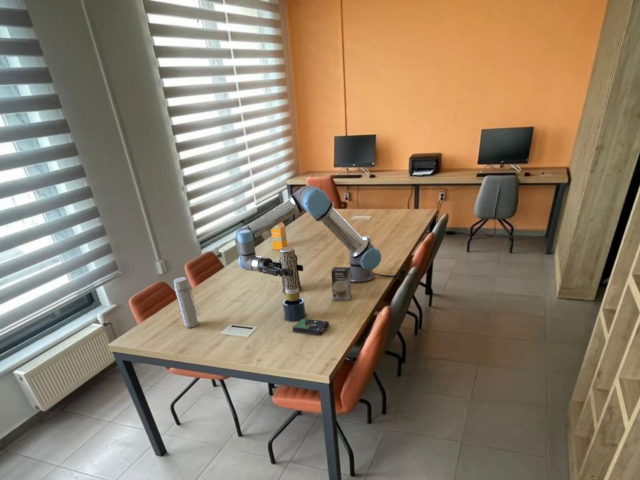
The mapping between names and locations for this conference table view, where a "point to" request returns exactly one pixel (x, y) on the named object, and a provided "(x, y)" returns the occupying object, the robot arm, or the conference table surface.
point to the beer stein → (297, 275)
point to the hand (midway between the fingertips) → (297, 270)
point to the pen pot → (294, 310)
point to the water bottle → (186, 302)
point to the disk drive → (311, 326)
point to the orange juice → (279, 236)
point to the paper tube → (290, 281)
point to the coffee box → (341, 283)
